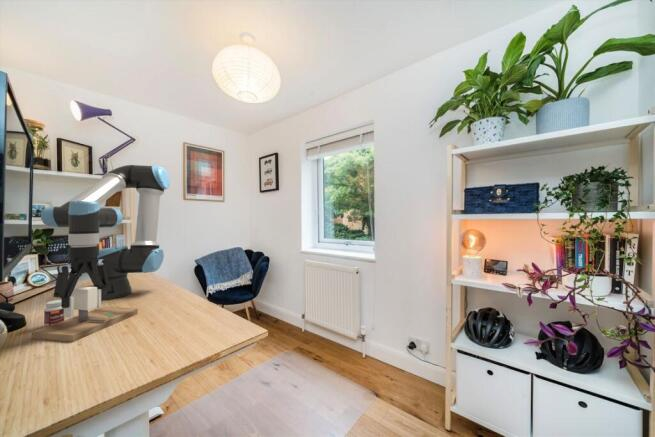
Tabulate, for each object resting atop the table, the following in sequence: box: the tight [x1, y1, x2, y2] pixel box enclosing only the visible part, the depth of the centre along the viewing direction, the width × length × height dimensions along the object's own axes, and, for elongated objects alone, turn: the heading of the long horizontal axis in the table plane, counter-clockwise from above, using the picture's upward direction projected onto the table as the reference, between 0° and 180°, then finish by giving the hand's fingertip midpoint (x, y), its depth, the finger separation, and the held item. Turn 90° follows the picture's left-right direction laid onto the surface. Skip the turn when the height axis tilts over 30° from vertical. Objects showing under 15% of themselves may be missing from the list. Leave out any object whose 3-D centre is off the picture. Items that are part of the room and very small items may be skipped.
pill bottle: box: [43, 299, 65, 328], centre depth 85 cm, size 5×5×8 cm
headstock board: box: [30, 305, 139, 343], centre depth 86 cm, size 22×15×2 cm
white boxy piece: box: [71, 285, 106, 322], centre depth 84 cm, size 3×12×11 cm, turn 83°
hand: (83, 311), depth 84 cm, fingers open, 8 cm apart
